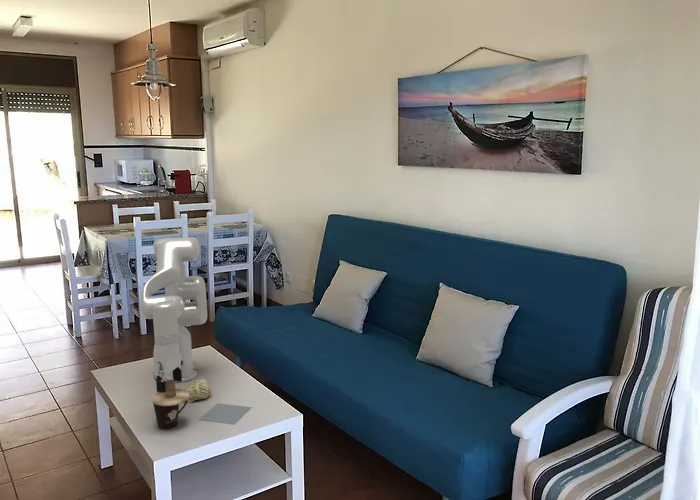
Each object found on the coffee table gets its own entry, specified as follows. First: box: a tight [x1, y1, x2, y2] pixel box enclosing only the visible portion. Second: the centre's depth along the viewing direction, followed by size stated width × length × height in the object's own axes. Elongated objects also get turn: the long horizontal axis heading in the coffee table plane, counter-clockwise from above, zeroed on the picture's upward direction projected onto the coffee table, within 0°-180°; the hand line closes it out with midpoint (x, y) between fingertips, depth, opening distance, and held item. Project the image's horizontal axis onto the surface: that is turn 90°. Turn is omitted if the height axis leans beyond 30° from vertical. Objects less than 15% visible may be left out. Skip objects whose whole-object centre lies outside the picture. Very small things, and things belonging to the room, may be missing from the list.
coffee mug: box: [152, 400, 188, 431], centre depth 202 cm, size 12×9×10 cm
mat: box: [198, 402, 253, 426], centre depth 210 cm, size 14×14×1 cm
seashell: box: [184, 378, 212, 404], centre depth 223 cm, size 10×10×10 cm
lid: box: [151, 379, 189, 406], centre depth 200 cm, size 12×12×6 cm
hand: (169, 386), depth 200 cm, fingers open, 9 cm apart
